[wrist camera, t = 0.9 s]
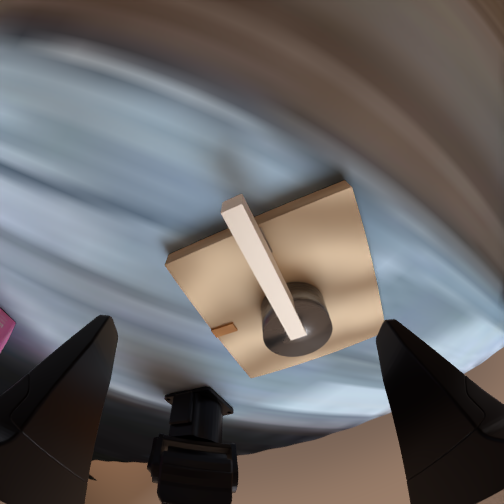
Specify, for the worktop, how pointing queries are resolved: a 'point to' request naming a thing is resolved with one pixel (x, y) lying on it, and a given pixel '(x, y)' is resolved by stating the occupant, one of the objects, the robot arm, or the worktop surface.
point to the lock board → (286, 276)
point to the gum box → (5, 328)
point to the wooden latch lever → (279, 291)
